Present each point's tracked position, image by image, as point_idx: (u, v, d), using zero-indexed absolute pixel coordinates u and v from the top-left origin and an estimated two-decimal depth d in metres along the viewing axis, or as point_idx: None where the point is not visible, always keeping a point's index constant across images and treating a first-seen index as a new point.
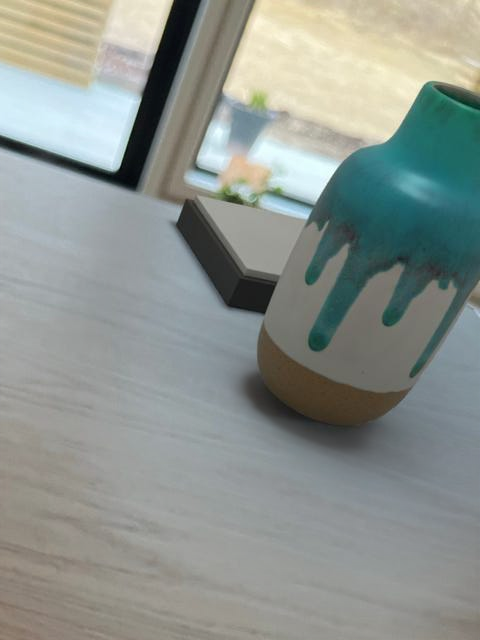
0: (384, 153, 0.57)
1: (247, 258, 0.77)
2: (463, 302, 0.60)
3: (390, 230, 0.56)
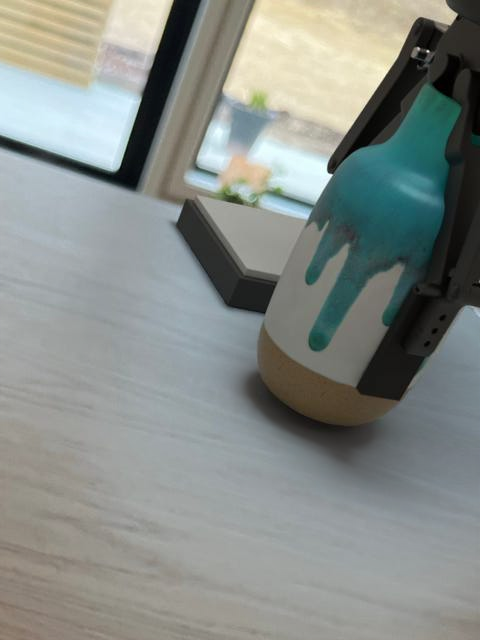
0: (384, 153, 0.57)
1: (247, 258, 0.77)
2: None
3: (391, 230, 0.56)
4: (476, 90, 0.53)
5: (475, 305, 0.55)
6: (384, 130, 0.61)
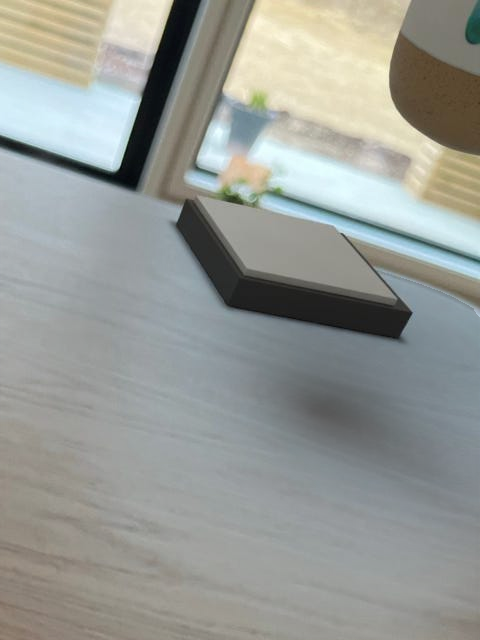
0: None
1: (247, 258, 0.77)
2: None
3: None
4: None
5: None
6: None
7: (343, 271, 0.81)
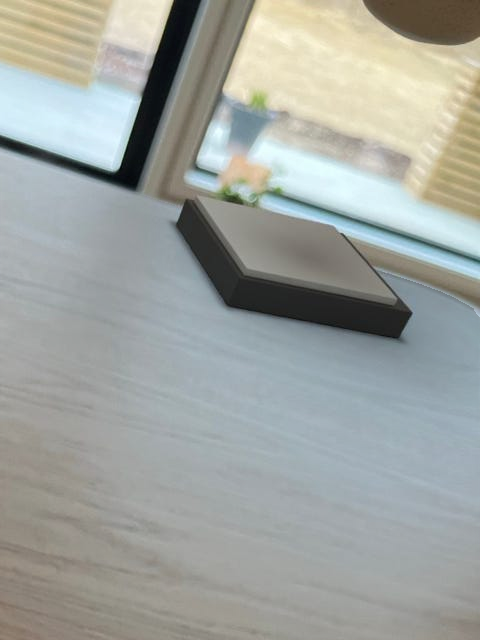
0: None
1: (247, 258, 0.77)
2: None
3: None
4: None
5: None
6: None
7: (343, 271, 0.81)
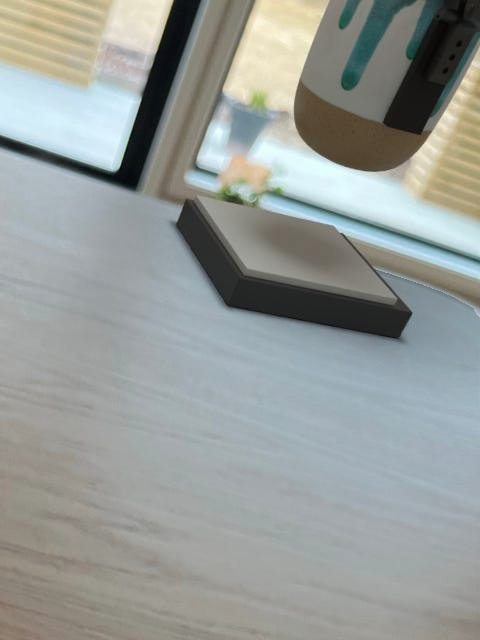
0: None
1: (247, 258, 0.77)
2: (476, 41, 0.69)
3: None
4: None
5: None
6: None
7: (343, 271, 0.81)
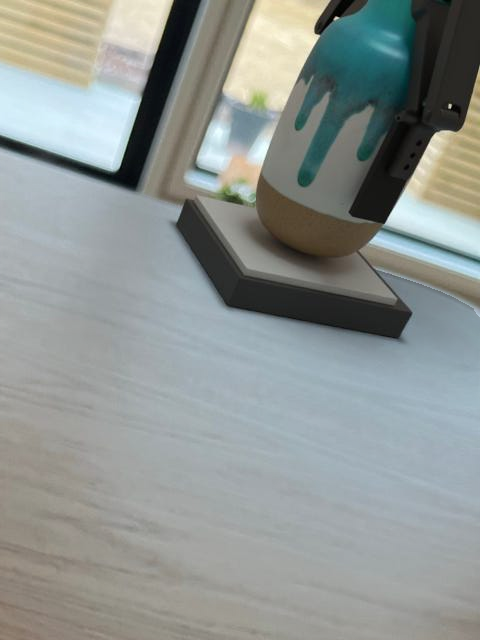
0: (358, 17, 0.71)
1: (247, 258, 0.77)
2: None
3: (362, 77, 0.70)
4: None
5: (445, 126, 0.67)
6: None
7: (343, 271, 0.81)
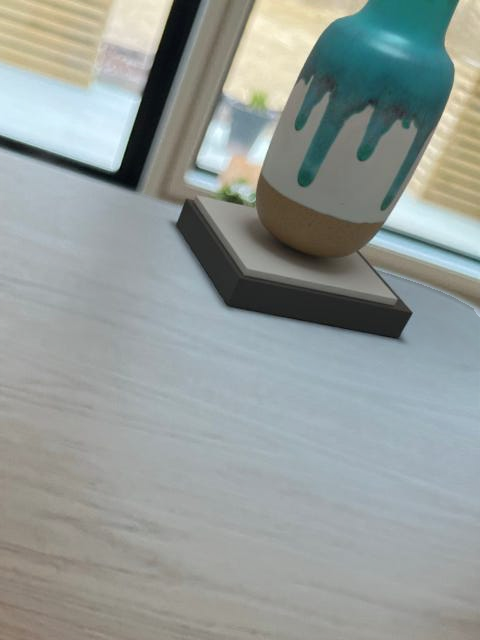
0: (358, 17, 0.71)
1: (247, 258, 0.77)
2: (423, 143, 0.73)
3: (362, 77, 0.70)
4: None
5: None
6: None
7: (343, 271, 0.81)
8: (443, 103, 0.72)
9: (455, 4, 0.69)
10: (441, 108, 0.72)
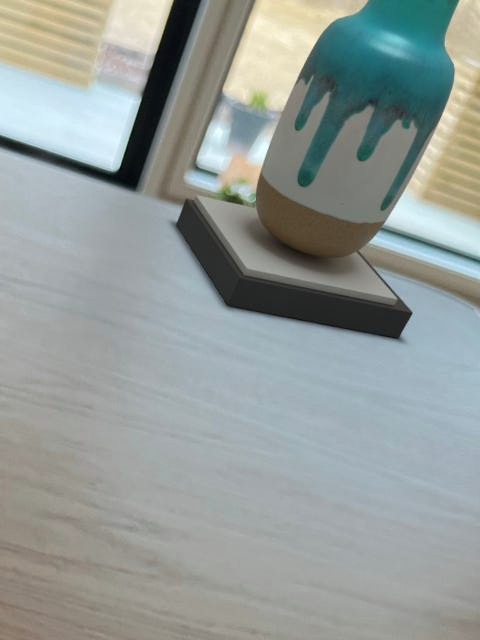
0: (358, 17, 0.71)
1: (247, 258, 0.77)
2: (423, 143, 0.73)
3: (362, 77, 0.70)
4: None
5: None
6: None
7: (343, 271, 0.81)
8: (443, 103, 0.72)
9: (455, 4, 0.69)
10: (441, 108, 0.72)
